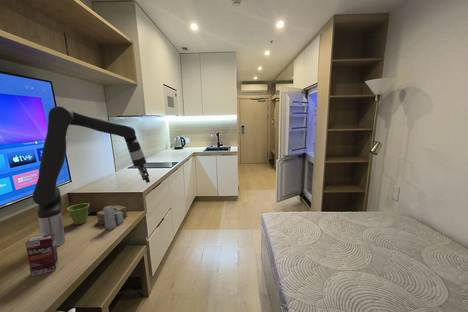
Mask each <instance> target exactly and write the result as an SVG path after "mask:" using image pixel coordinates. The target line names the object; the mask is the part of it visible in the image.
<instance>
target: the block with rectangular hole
mask: <svg viewBox="0 0 468 312" xmlns="http://www.w3.org/2000/svg"><path fill="white" fill-rule="evenodd" d="M113 206H114V213H115V212H118V211H120V212H123V219H125V218H127V217H128V215H127V207H126V206H122V205H117V204H116V205H113ZM96 216H97V223H98V224H102V225H105V218H104V209H103V210H100V211H98V212H96Z"/></svg>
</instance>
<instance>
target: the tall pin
mask: <svg viewBox="0 0 468 312" xmlns="http://www.w3.org/2000/svg"><path fill="white" fill-rule="evenodd" d="M114 206H115V205H107V206H105V207H103V210H104V218H105V224H104V226H105V230H108V231H112V230H114V229H115V228H117V224H116V223H115V213H114Z"/></svg>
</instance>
